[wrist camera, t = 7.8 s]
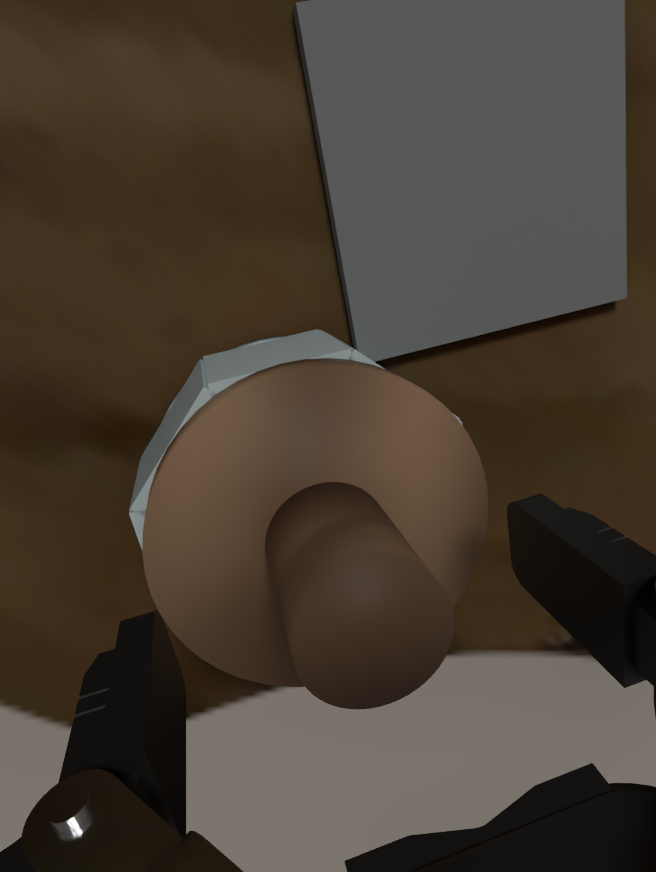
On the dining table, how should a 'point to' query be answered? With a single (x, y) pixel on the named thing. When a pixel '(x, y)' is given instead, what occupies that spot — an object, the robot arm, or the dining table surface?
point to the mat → (468, 161)
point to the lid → (317, 530)
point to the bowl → (217, 377)
